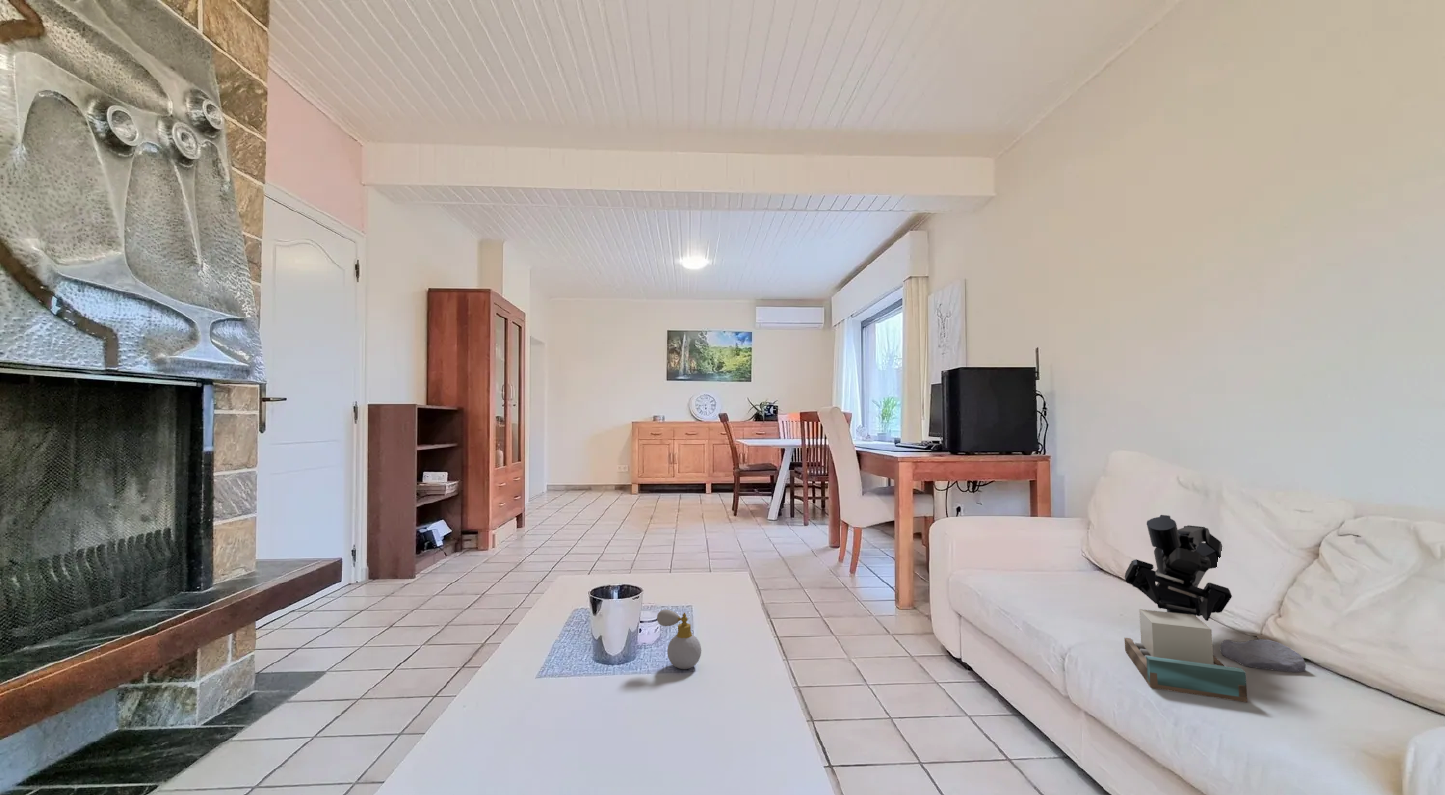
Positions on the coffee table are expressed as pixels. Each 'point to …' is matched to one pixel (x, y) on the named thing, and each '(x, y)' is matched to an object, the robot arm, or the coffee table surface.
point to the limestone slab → (1176, 636)
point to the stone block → (1263, 655)
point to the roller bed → (1188, 675)
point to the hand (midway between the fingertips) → (1182, 610)
